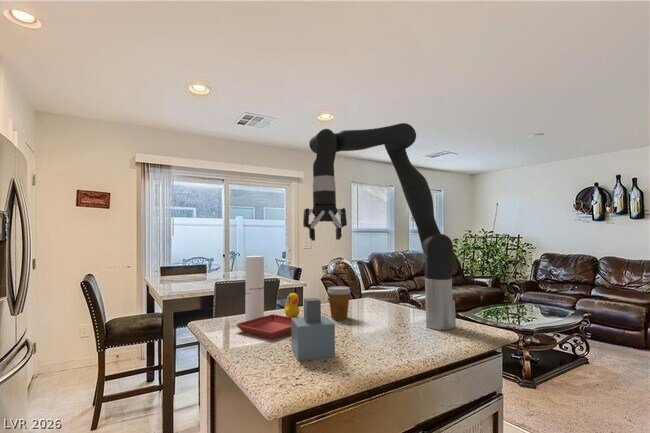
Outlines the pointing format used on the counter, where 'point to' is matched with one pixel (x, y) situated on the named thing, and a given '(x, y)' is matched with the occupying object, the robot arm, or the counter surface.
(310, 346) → the grey block
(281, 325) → the plant saucer
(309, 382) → the counter surface
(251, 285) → the cylindrical container
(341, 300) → the disposable coffee cup
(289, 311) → the duckling
